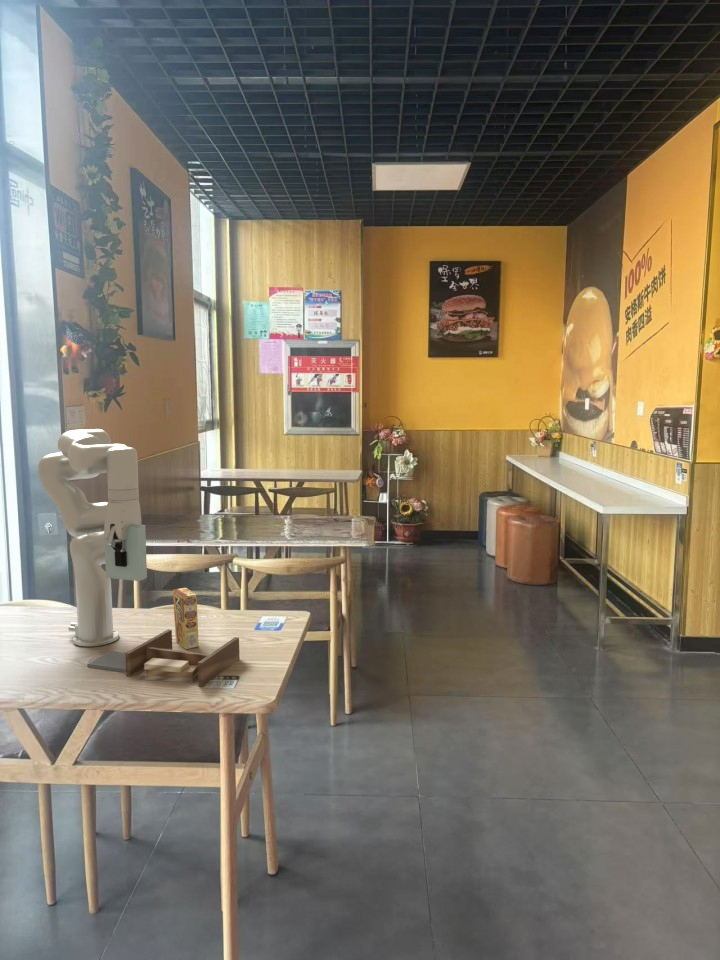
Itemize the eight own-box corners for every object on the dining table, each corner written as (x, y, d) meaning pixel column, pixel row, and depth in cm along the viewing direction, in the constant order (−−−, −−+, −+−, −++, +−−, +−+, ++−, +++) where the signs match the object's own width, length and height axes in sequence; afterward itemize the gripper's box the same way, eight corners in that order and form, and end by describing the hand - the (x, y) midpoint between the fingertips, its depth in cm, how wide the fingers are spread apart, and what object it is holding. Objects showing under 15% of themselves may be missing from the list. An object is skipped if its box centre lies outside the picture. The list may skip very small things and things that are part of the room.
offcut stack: (139, 680, 180) (138, 664, 180) (149, 672, 185) (148, 656, 185) (192, 684, 178) (191, 668, 177) (200, 676, 183) (200, 660, 182)
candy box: (199, 647, 203) (197, 594, 201) (185, 650, 200) (183, 596, 198) (188, 638, 210) (186, 587, 208) (174, 640, 208) (172, 589, 206)
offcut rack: (126, 675, 182) (125, 653, 181) (168, 650, 200) (167, 629, 199) (202, 686, 175) (201, 663, 174) (239, 659, 193) (239, 637, 192)
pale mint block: (106, 577, 188) (103, 525, 186) (114, 574, 192) (112, 522, 190) (139, 581, 186) (137, 528, 184) (147, 577, 189) (145, 525, 187)
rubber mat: (87, 666, 188) (87, 663, 188) (111, 653, 198) (111, 650, 198) (129, 672, 184) (129, 669, 184) (152, 658, 194) (152, 656, 194)
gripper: (129, 489, 194) (131, 555, 197) (90, 499, 179) (93, 571, 181) (154, 491, 192) (156, 558, 195) (116, 501, 177) (119, 573, 179)
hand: (125, 563), depth 188 cm, fingers closed on pale mint block, 3 cm apart
